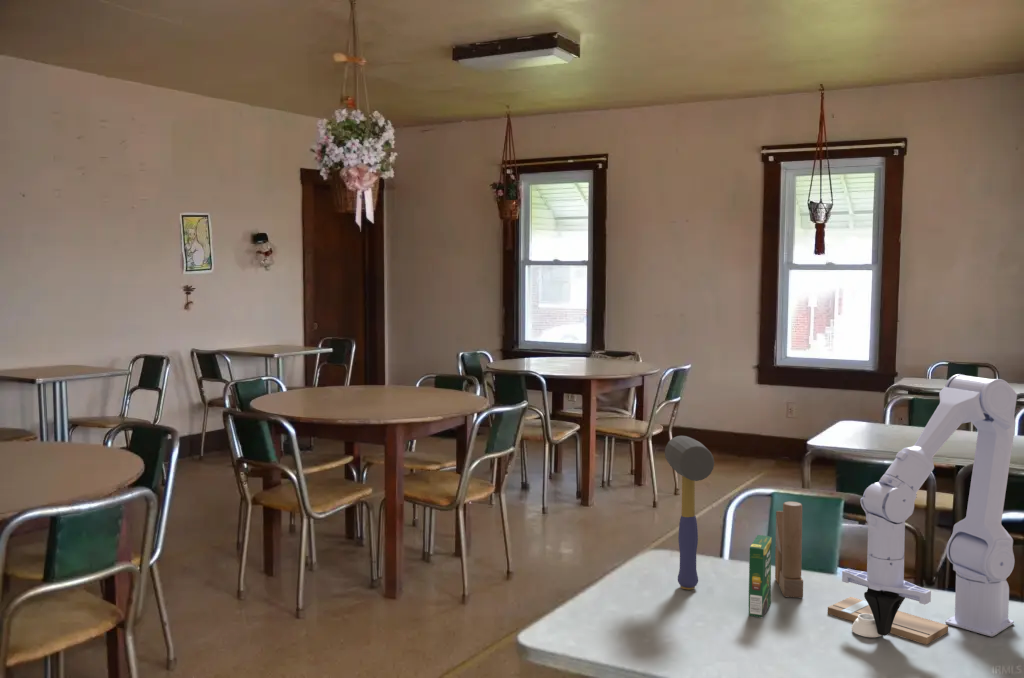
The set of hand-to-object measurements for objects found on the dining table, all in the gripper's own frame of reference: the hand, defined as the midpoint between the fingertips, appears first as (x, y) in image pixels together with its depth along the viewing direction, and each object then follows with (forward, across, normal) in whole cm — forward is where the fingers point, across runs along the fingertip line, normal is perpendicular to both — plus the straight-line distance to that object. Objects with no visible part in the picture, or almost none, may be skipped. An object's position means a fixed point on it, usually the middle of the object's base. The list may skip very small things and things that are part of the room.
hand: (883, 633), depth 147 cm
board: (+1, -3, +7) cm, 8 cm away
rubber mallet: (+1, -37, -6) cm, 38 cm away
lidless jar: (+1, -3, 0) cm, 3 cm away
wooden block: (+1, -24, +9) cm, 26 cm away
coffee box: (+1, -21, -5) cm, 22 cm away
